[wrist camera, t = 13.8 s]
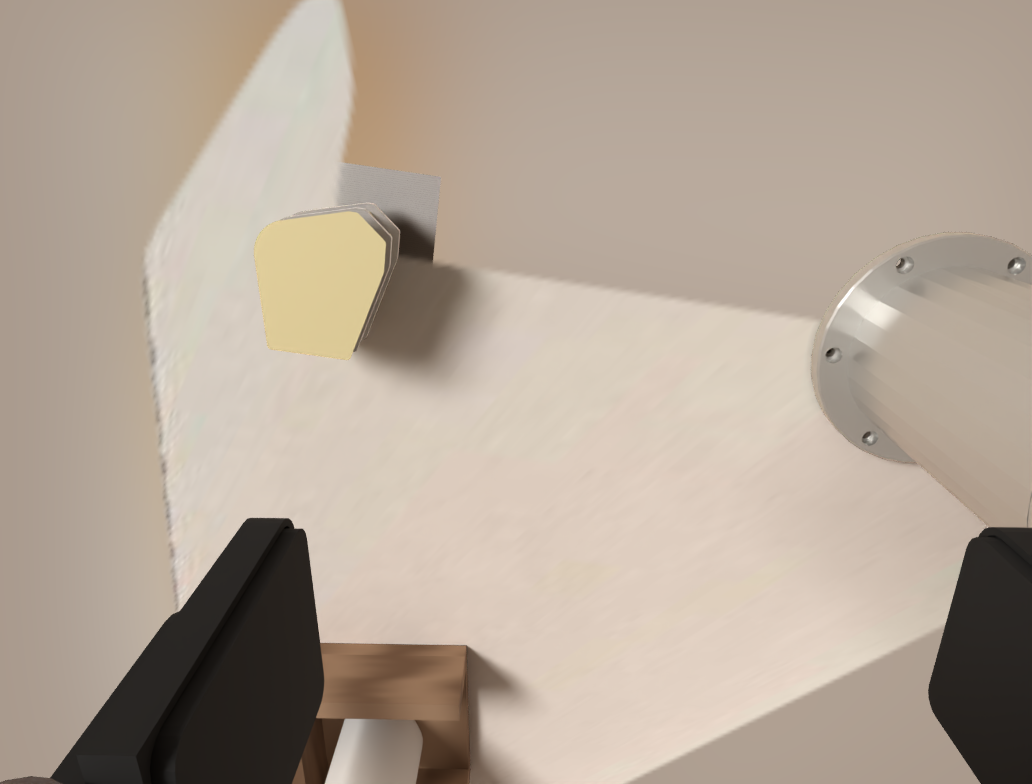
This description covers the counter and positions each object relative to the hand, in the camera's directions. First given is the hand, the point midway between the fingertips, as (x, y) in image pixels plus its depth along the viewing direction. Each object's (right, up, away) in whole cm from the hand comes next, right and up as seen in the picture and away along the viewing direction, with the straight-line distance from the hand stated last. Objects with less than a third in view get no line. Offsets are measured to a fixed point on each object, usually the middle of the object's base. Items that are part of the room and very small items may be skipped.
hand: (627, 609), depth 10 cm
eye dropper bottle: (-10, -19, +37) cm, 43 cm away
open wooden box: (-10, -19, +38) cm, 43 cm away
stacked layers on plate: (-11, +10, +27) cm, 31 cm away
